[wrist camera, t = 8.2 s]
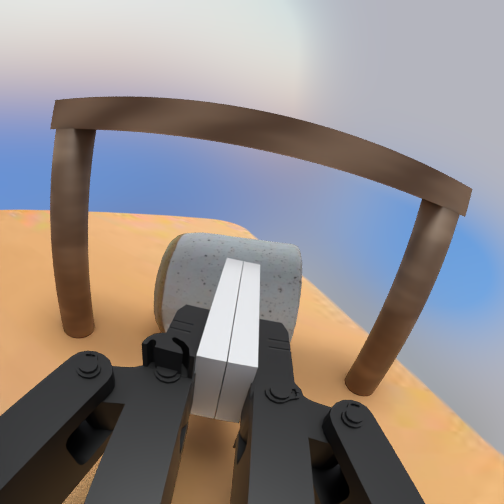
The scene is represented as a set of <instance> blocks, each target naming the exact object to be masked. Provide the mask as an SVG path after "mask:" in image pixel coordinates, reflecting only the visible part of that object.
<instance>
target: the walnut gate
mask: <svg viewBox="0 0 504 504" xmlns="http://www.w3.org/2000/svg"><path fill="white" fill-rule="evenodd" d="M51 129H56V135H55V142H54V151H53V161H52V173H51V196H50V221H51V244H52V257H53V267H54V276H55V283H56V290H57V297H58V303H59V308H60V313H61V318H62V323H63V328H64V331H65V333H66V334H67V335H69V336H71V337H75V338H82V337H86V336H88V335H90V334H91V333H92V332H93V330H94V319H93V311H92V302H91V292H90V280H89V262H88V203H89V187H90V174H91V164H92V156H93V148H94V140H95V135H96V130H117V131H133V132H146V133H156V134H166V135H174V136H182V137H190V138H197V139H203V140H210V141H216V142H222V143H228V144H234V145H239V146H244V147H249V148H254V149H259V150H264V151H269V152H273V153H277V154H281V155H286V156H290V157H294V158H298V159H302V160H306V161H310V162H314V163H317V164H321V165H324V166H328V167H331V168H335V169H338V170H342V171H345V172H349V173H352V174H355V175H358V176H361V177H364V178H367V179H370V180H373V181H376V182H379V183H382V184H385V185H387V186H390V187H393V188H396V189H398V190H401V191H404V192H406V193H409V194H412V195H414V196H417V197H419V198H422V201H421V205H420V208H419V211H418V215H417V218H416V221H415V225H414V228H413V231H412V234H411V237H410V240H409V242H408V245H407V248H406V251H405V254H404V256H403V259H402V262H401V264H400V267H399V270H398V272H397V274H396V277H395V279H394V282H393V284H392V287H391V289H390V291H389V294H388V296H387V298H386V300H385V303H384V305H383V307H382V310H381V311H380V314H379V316H378V318H377V320H376V322H375V324H374V326H373V328H372V330H371V332H370V334H369V336H368V338H367V340H366V342H365V344H364V346H363V348H362V349H361V351H360V353H359V355H358V357H357V359H356V360H355V362H354V364H353V366H352V367H351V369H350V371H349V373H348V374H347V376H346V378H345V383H346V386H347V387H348V388H349V390H351V391H352V392H353V393H355V394H357V395H361V396H368V395H370V394H372V393H373V392H374V390H375V389H376V388H377V386H378V385H379V383H380V382H381V380H382V379H383V377H384V376H385V374H386V373H387V371H388V370H389V368H390V366H391V365H392V363H393V362H394V360H395V358H396V357H397V355H398V353H399V352H400V350H401V348H402V346H403V345H404V343H405V341H406V339H407V338H408V336H409V334H410V333H411V331H412V329H413V327H414V325H415V323H416V321H417V319H418V317H419V315H420V313H421V311H422V309H423V307H424V305H425V303H426V301H427V299H428V297H429V295H430V292H431V290H432V288H433V286H434V283H435V281H436V279H437V276H438V274H439V272H440V269H441V267H442V264H443V262H444V259H445V256H446V254H447V251H448V248H449V245H450V242H451V239H452V236H453V234H454V230H455V227H456V224H457V221H458V218H459V214H460V215H462V216H465V215H466V211H467V208H468V204H469V200H470V196H471V192H472V189H471V188H470V187H468V186H466V185H464V184H462V183H461V182H459V181H457V180H455V179H453V178H451V177H449V176H447V175H446V174H444V173H442V172H440V171H438V170H436V169H433V168H431V167H429V166H427V165H425V164H423V163H421V162H418V161H416V160H414V159H412V158H410V157H407V156H405V155H403V154H400V153H398V152H396V151H393V150H391V149H388V148H386V147H383V146H381V145H378V144H375V143H373V142H370V141H367V140H364V139H362V138H359V137H356V136H353V135H350V134H347V133H344V132H341V131H338V130H334V129H330V128H328V127H324V126H321V125H317V124H314V123H310V122H307V121H303V120H299V119H295V118H291V117H287V116H282V115H278V114H274V113H269V112H264V111H259V110H254V109H249V108H243V107H237V106H231V105H224V104H217V103H210V102H203V101H194V100H184V99H171V98H155V97H154V98H153V97H88V98H73V99H62V100H55V105H54V110H53V116H52V122H51Z"/></svg>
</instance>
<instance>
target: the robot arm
mask: <svg viewBox="0 0 504 504" xmlns="http://www.w3.org/2000/svg"><path fill="white" fill-rule="evenodd" d="M242 266H243V268H242ZM241 272H242V273H241ZM259 302H260V264H255V263H250V262H245V261H244V263H243V261H240V260H236V259H231V258H227V259H226V262H225V265H224V268H223V271H222V275H221V278H220V281H219V284H218V287H217V290H216V293H215V297H214V300H213V303H212V306H211V309H210V310H209V309H204V308H200V307H195V306H191V305H187V304H186V305H185V306H183V307H182V308H180V309H179V310H177V312H176V314H175V316H174V318H173V321H172V322H171V324H170V326H169V328H168V330H167V332H166V333H157V334H153V335H151V336H149V337H147V338H146V339H145V340H144V341H143V342H142V355H143V365H142V366H138V367H117V366H112V365H111V362H110V360H109V359H108V358H107V357H105V356H104V355H103V354H100V353H98V352H95V351H83V352H79V353H77V354H75V355H73V356H72V357H70V358H69V359H68V360H67V361H65V362H64V363H63V364H62V365H60V366H59V367H58V368H57V369H56V370H54V371H53V372H52V373H51V374H49V375H48V376H47V377H46V378H45V379H43V380H42V381H41V382H40V383H39V384H37V385H36V386H35V387H34V388H33V389H31V390H30V391H29V392H28V393H27V394H26V395H24V396H23V397H22V398H21V399H20V400H18V401H17V402H16V403H15V404H14V405H13V406H12V407H10V408H9V409H8V410H7V411H6V412H5V413H3V414H2V415H1V416H0V504H62V503H63V502H64V500H65V499H66V498H67V497H68V496H69V494H70V493H71V492H72V491H73V490H74V488H75V487H76V486H77V485H78V484H79V482H80V481H81V480H82V479H83V478H84V476H85V475H86V474H87V473H88V472H89V470H90V469H91V468H92V467H93V465H94V464H95V463H96V462H97V461H98V459H99V458H100V457H101V456H102V454H103V453H104V454H103V456H102V459H101V461H100V464H99V466H98V469H97V471H96V474H95V476H94V479H93V481H92V484H91V487H90V489H89V492H88V494H87V497H86V500H85V503H84V504H171V501H172V496H173V492H174V487H175V482H176V478H177V473H178V469H179V464H180V460H181V455H182V451H183V447H184V442H185V438H186V434H187V429H188V420H189V416H190V414H194V415H198V416H203V417H208V418H213V419H214V416H215V419H218V420H224V421H230V422H236V423H239V421H240V418H241V421H240V430H239V432H238V435H237V438H236V440H235V443H234V445H233V448H236V450H235V460H234V470H233V480H232V490H231V500H230V504H425V503H424V501H423V499H422V497H421V496H420V494H419V492H418V490H417V489H416V487H415V485H414V483H413V482H412V480H411V478H410V477H409V475H408V473H407V471H406V470H405V468H404V466H403V465H402V463H401V461H400V459H399V458H398V456H397V454H396V453H395V451H394V449H393V448H392V446H391V444H390V443H389V441H388V439H387V438H386V436H385V434H384V433H383V431H382V429H381V428H380V426H379V424H378V423H377V421H376V419H375V418H374V416H373V414H372V413H371V412H370V410H369V409H368V408H367V407H366V406H364V405H363V404H361V403H359V402H356V401H353V400H342V401H340V402H337V403H336V404H335V405H334V406H333V407H332V408H331V407H328V406H325V405H322V404H319V403H316V402H313V401H311V400H309V399H307V398H306V397H304V396H303V394H302V391H301V389H300V388H299V387H298V386H297V385H296V384H295V382H294V375H293V366H292V358H291V352H290V343H289V342H290V341H289V333H288V331H287V329H286V328H285V327H284V325H283V324H282V323H280V322H274V321H269V320H263V319H259ZM216 407H217V409H216ZM215 412H216V415H215Z"/></svg>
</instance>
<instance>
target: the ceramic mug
mask: <svg viewBox="0 0 504 504" xmlns="http://www.w3.org/2000/svg"><path fill="white" fill-rule="evenodd" d="M227 258H231V259H236V260H240V261H243V263H244V261H245V262H250V263H255V264H260V302H259V319H263V320H269V321H274V322H280V323H282V324H283V325H284V327H285V328H286V329H287V331H288V333H289V341H290V342H291V339H292V336H293V332H294V328H295V325H296V320H297V314H298V308H299V301H300V295H301V284H302V282H301V279H302V260H301V253H300V250H299V248H298V247H297V246H296V245H293V244H287V243H278V242H270V241H262V240H255V239H247V238H239V237H231V236H225V235H218V234H210V233H187V234H182V235H179V236H177V237H176V238H175V239H173V240H172V241H171V243H170V244H169V245H168V247H167V249H166V251H165V253H164V255H163V257H162V260H161V264H160V267H159V270H158V274H157V278H156V283H155V291H154V314H155V319H156V322H157V325H158V326H159V328H160V330H161V331H162V333H166V332H167V330H168V328H169V326H170V324H171V322H172V321H173V318H174V316H175V314H176V312H177V310H179V309H180V308H182V307H183V306H185V305H186V304H187V305H191V306H195V307H200V308H204V309H209V310H210V309H211V306H212V303H213V300H214V297H215V293H216V290H217V287H218V284H219V281H220V278H221V275H222V271H223V268H224V265H225V262H226V259H227ZM242 268H243V266H242ZM241 273H242V272H241ZM290 342H289V343H290ZM216 409H217V407H216Z"/></svg>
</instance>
